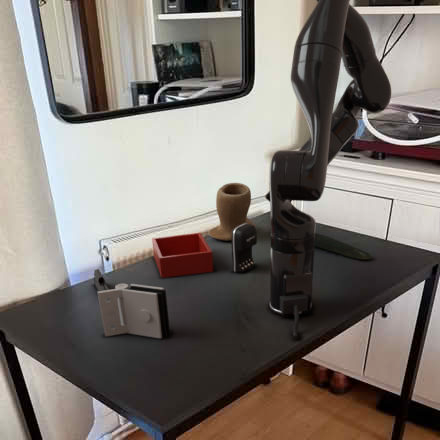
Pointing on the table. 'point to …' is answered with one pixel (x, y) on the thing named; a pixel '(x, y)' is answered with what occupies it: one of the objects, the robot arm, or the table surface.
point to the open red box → (182, 255)
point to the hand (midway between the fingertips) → (272, 204)
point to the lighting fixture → (100, 282)
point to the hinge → (135, 310)
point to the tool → (339, 247)
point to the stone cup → (231, 209)
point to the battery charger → (243, 247)
